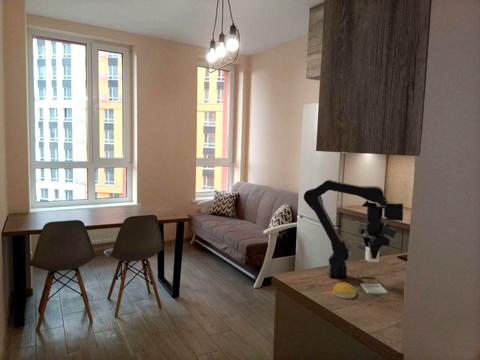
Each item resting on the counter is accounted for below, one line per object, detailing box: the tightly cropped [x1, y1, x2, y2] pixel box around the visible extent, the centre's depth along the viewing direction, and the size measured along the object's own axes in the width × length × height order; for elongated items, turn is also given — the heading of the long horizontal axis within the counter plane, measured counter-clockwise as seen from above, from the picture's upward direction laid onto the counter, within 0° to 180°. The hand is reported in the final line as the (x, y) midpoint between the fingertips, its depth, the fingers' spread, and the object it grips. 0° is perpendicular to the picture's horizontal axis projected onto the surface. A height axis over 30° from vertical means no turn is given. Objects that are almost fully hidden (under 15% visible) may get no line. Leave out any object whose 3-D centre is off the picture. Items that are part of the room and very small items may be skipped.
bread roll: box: [331, 281, 357, 299], centre depth 131 cm, size 8×9×4 cm
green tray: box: [360, 282, 388, 295], centre depth 135 cm, size 7×7×1 cm
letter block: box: [364, 247, 380, 263], centre depth 142 cm, size 4×4×5 cm
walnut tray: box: [357, 275, 384, 287], centre depth 143 cm, size 7×7×1 cm
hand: (371, 257), depth 142 cm, fingers closed on letter block, 4 cm apart
